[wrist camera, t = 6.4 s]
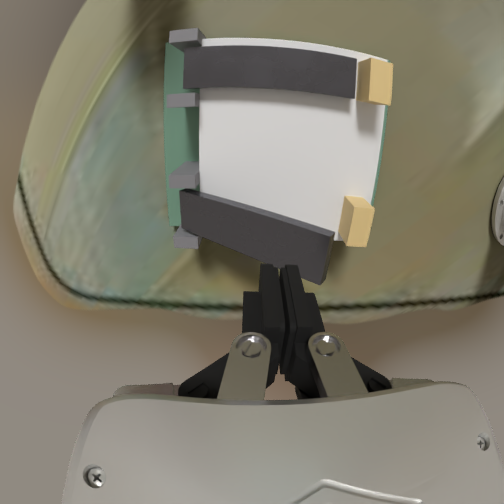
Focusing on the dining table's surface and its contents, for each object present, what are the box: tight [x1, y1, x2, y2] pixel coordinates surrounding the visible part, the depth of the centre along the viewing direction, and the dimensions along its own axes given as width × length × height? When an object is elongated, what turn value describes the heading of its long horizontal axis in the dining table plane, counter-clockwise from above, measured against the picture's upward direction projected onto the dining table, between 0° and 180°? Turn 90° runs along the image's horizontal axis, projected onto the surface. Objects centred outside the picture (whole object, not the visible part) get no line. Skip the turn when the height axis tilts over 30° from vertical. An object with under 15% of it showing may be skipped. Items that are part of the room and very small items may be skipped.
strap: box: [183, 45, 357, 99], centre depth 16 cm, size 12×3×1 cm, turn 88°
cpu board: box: [164, 28, 393, 249], centre depth 20 cm, size 20×18×7 cm
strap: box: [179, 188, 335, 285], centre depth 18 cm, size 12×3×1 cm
